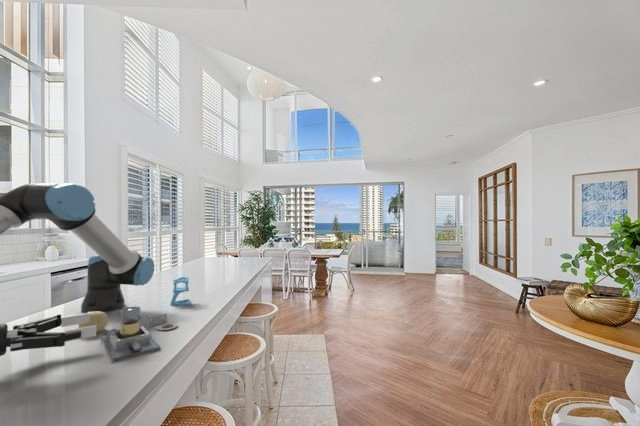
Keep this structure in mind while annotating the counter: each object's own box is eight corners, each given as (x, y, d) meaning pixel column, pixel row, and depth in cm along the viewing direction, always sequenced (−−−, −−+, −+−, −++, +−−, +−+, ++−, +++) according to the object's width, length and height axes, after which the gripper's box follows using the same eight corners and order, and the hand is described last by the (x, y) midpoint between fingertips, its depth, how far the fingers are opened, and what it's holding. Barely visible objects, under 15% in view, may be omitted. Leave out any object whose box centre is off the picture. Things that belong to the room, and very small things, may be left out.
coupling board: (100, 339, 97) (101, 328, 97) (142, 330, 105) (143, 320, 105) (112, 362, 82) (113, 349, 83) (160, 349, 91) (160, 338, 91)
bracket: (163, 333, 104) (163, 323, 104) (148, 327, 109) (148, 317, 110) (181, 328, 109) (181, 318, 110) (165, 322, 115) (166, 313, 115)
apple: (70, 335, 98) (75, 311, 102) (93, 337, 105) (97, 315, 109) (89, 330, 97) (94, 306, 101) (111, 332, 104) (115, 310, 108)
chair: (170, 302, 140) (171, 276, 140) (190, 300, 143) (190, 275, 143) (170, 307, 133) (170, 279, 133) (190, 305, 136) (191, 278, 136)
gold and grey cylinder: (118, 340, 94) (119, 308, 94) (136, 336, 97) (138, 305, 98) (121, 346, 90) (123, 312, 90) (140, 341, 94) (142, 309, 94)
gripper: (-12, 342, 82) (86, 324, 96) (-25, 379, 64) (98, 351, 78) (-11, 314, 82) (87, 301, 96) (-23, 344, 64) (100, 322, 78)
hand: (92, 323), depth 87 cm, fingers open, 13 cm apart
